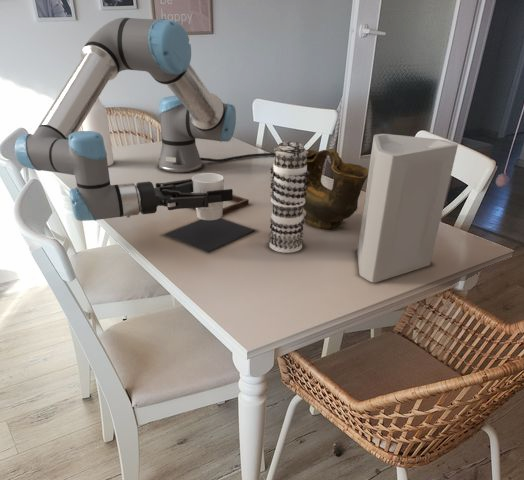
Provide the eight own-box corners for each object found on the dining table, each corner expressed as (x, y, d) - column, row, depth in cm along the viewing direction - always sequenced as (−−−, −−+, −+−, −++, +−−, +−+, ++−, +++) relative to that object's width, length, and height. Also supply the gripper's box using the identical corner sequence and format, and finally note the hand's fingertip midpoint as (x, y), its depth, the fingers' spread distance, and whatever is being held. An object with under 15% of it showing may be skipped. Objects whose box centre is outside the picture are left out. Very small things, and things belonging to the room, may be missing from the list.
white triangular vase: (388, 242, 135) (408, 129, 119) (431, 264, 125) (459, 144, 109) (332, 258, 127) (345, 139, 111) (372, 283, 117) (394, 156, 100)
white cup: (201, 223, 131) (199, 184, 125) (189, 213, 136) (187, 174, 130) (229, 218, 134) (228, 180, 128) (217, 208, 139) (216, 171, 133)
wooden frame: (215, 194, 163) (215, 189, 162) (248, 204, 156) (248, 199, 155) (184, 205, 154) (184, 200, 153) (218, 217, 147) (217, 211, 146)
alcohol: (83, 164, 185) (67, 70, 167) (102, 158, 191) (88, 67, 173) (100, 169, 181) (85, 73, 163) (119, 163, 187) (106, 70, 169)
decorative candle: (292, 256, 127) (299, 152, 113) (261, 247, 131) (263, 145, 116) (309, 244, 134) (318, 143, 119) (279, 235, 137) (283, 137, 123)
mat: (211, 216, 148) (211, 215, 147) (254, 231, 140) (254, 230, 139) (164, 235, 136) (164, 234, 136) (208, 252, 128) (208, 251, 128)
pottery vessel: (278, 213, 151) (281, 142, 139) (305, 205, 157) (310, 136, 145) (341, 241, 136) (351, 164, 124) (368, 231, 141) (380, 156, 130)
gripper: (132, 200, 135) (214, 191, 143) (148, 229, 120) (240, 217, 127) (128, 171, 131) (214, 163, 138) (144, 197, 116) (240, 187, 123)
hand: (226, 189), depth 133 cm, fingers closed on white cup, 8 cm apart
